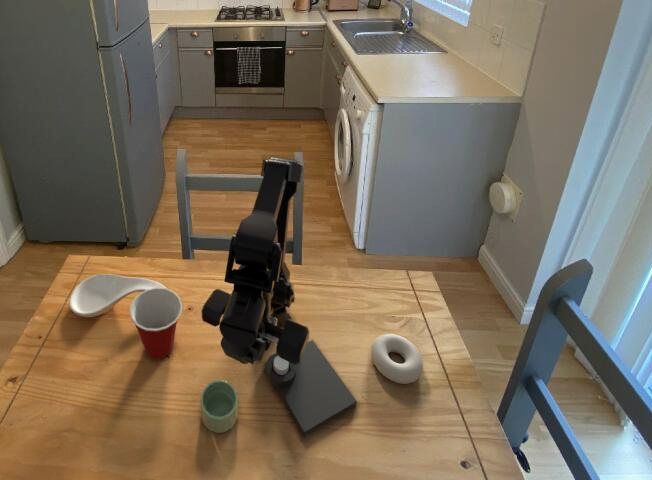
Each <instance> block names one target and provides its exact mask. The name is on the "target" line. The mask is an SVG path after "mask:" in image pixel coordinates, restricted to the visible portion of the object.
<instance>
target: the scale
mask: <svg viewBox="0 0 652 480" xmlns="http://www.w3.org/2000/svg"><path fill="white" fill-rule="evenodd" d="M277 356H278V354H277V353H276V352H274V353H273V354H271V355H269V356H268V358H267V360H266V361H265V362H264V370H265V376H266V377H267V380H268V382H270V383H271V384H273V385H274V387H275V389H276V390H277V392H278V394H279V396H280V398H281V399H282V401H283V403H284V405H285V406H286V408H287V410H288V412H289V413H290V415H291V417H292V418H293V420H294V422H295V424H296V426H297V427H298V429H299V431H300V433H301V435H302V436H303V437H307V436H308V435H310V434H311V433H313V432H315V431H316V430H318V429H320V428H322V427H323V426H325V425H327V424H328V423H330V422H331V421H333V420H335V419H337V418H338V417H340V416H343V414H345V413H347V412H348V411H350V410H352V409H353V408H355V407H357V403H358V401H357V399H356V398H355V397H354V395H353V394H352V392H351V391H350V390H349V388H348V387H347V386H346V383H344V382H343V380H342V379H341V377H340V376H339V374H338V373H337V372H336V370H335V369H334V367H333V366H332V365H331V363H330V362H329V360H328V359H327V358H326V356H325V354H324V353H323V352H322V351H321V349H320V348H319V347H318V345H317V343H316V342H315V341H314V340H313V339H311V340H308V342H307V344H306V347H305V350H304V352H303V355H302V358H301V360H300V363H299V364H296V365H295V364H292V363H290V362H289V368H288V372H287V373H286V374H285V375H278V374H277V373H276V372H275V371H274V368H273V364H274V359H275V358H276V357H277Z"/></svg>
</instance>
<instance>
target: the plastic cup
mask: <svg viewBox="0 0 652 480" xmlns="http://www.w3.org/2000/svg"><path fill="white" fill-rule="evenodd" d="M182 311H183V302H182V300H181V297H180V296H179V295H178V294H177V293H176V292H175V291H173V290H171V289H170V288H167V287H166V288H157V287H156V288H152V289H147V290H145V291H144V292H139V293H138V294H137V296H135V298H134V299H133V300H132V301H131V305H130V308H129V314H130V319H131V321H132V322H133V323H134V325H135V328H136V330H137V332H138V334H139V338H140V341H141V343H142V345H143V347H144V349H145V352H146V353H147V354H148V356H149V357H150V358H151V359H155V360H160V359H163V358H166V357H167V356H168V355H170V353H171V351H172V349H173V348H174V347H173V346H174V341H175V336H176V331H177V330H176V329H177V323H178V320H179V318H180V317H181V315H182Z"/></svg>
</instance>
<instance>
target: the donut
mask: <svg viewBox="0 0 652 480" xmlns="http://www.w3.org/2000/svg"><path fill="white" fill-rule="evenodd" d="M370 349H371V352H370V354H371V359H372V362H373V364H374V366H375V367H376V369H377V371H378V372H379V373H380V374H381V375H382V376H383V377H384V378H386V379H388V380H390V381H391V382H394V383H397V384H403V385H405V384H406V385H408V384H411V383H414V382H416V381H417V380H418V379H419V378H420V377H421V376H422V373H423V370H424V362H423V358H422V356H421V353H420V351H419V350H418V348H417V347H416V345H415V344H413V342H411V341H410V340H409V339H407V338H405V337H403V336H401V335H399V334H395V333H384V334H381V335H379V336H378V337H377V338H375V339H374V341H373V343H372V345H371V348H370ZM390 353H397V354H399V355H400V356H401V357H402V358H403V359H404V362H403V363H398V362H395V361H394V360H393V359H391V358H390V357H389V354H390Z"/></svg>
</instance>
